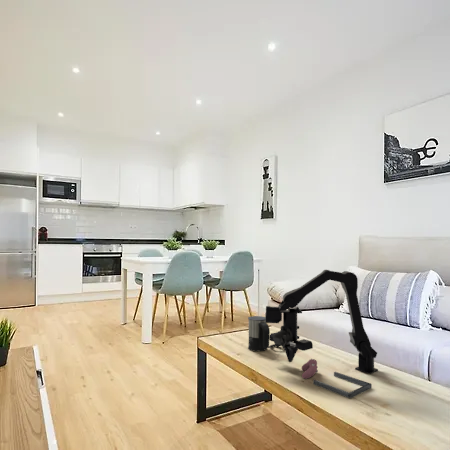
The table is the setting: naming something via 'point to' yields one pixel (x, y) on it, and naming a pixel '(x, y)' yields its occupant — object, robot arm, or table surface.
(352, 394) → the metal bay
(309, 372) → the video game controller
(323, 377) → the table surface
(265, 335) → the milk frother
